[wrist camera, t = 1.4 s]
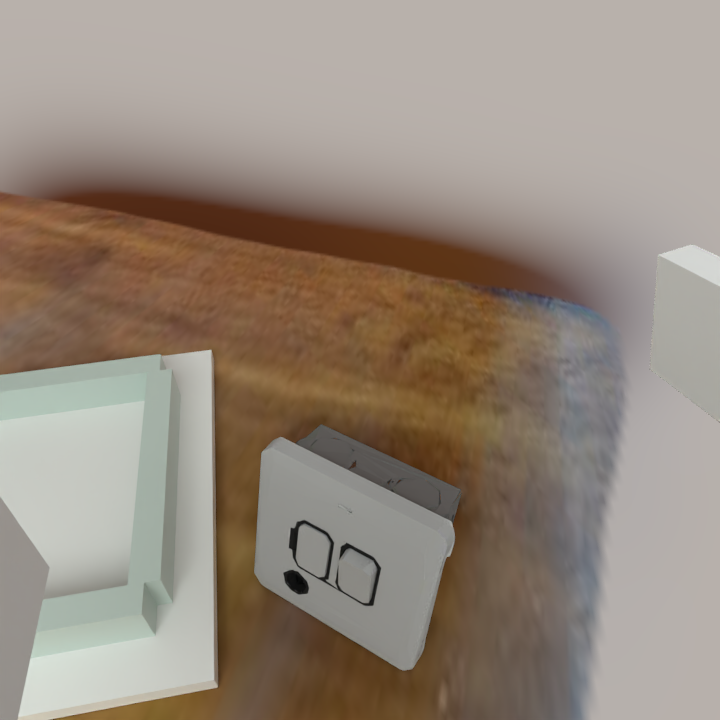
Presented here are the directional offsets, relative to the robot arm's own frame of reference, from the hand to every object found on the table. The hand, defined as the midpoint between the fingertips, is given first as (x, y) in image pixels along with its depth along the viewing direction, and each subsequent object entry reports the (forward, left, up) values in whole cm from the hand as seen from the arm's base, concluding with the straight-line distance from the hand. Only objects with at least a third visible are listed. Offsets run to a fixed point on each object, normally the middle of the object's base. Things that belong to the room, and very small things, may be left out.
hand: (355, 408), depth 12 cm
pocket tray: (-14, -17, -22) cm, 31 cm away
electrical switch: (-7, +1, -22) cm, 23 cm away
